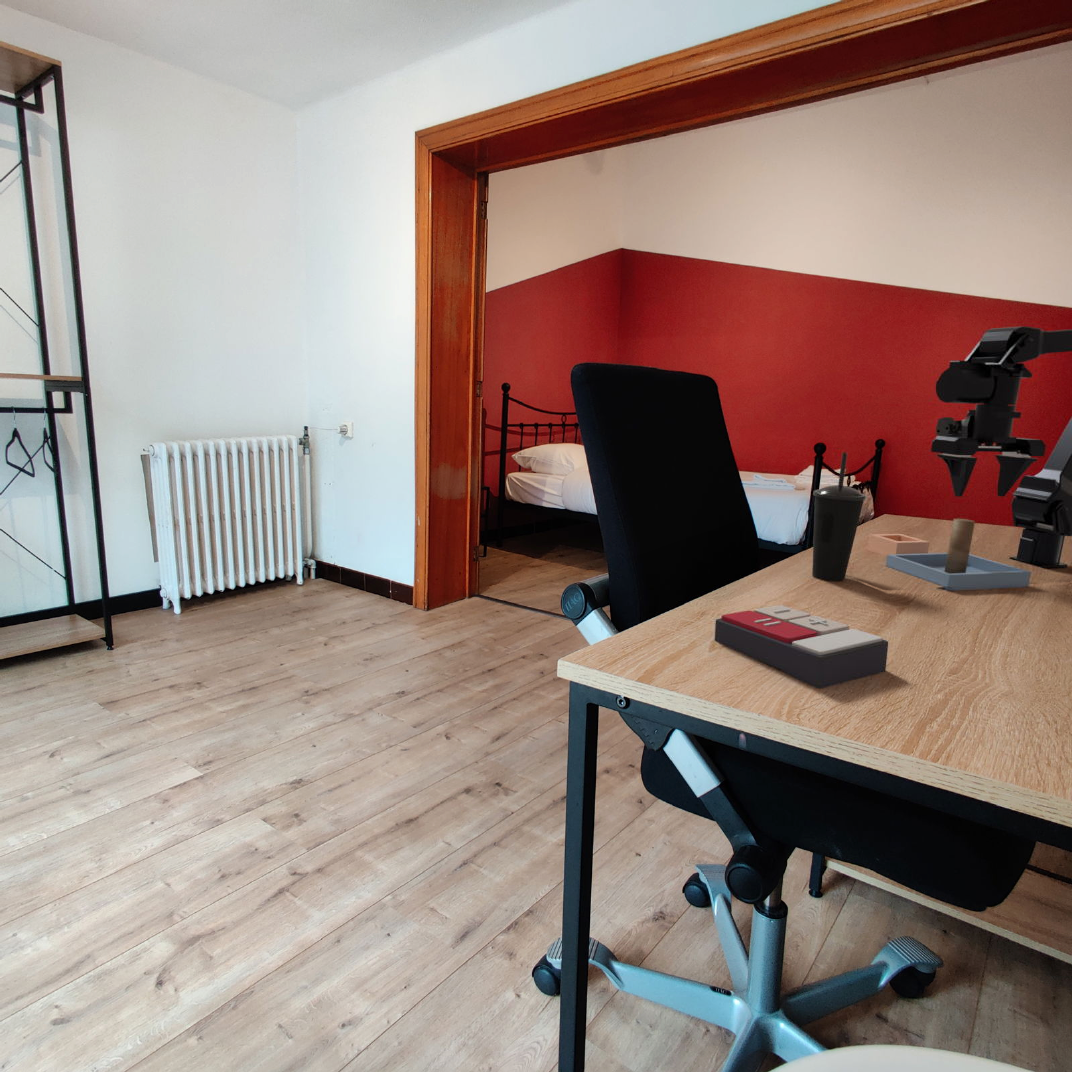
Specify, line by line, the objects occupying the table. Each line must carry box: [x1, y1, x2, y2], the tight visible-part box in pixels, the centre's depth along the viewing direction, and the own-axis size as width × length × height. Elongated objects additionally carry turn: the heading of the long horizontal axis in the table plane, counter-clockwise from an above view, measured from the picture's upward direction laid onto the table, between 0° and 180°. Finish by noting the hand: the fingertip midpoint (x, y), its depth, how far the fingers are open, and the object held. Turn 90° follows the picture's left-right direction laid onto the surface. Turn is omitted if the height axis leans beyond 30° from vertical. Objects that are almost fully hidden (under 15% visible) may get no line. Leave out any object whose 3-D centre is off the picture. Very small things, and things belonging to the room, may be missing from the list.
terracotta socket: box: [866, 533, 930, 558], centre depth 129 cm, size 7×7×4 cm
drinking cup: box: [811, 452, 867, 582], centre depth 111 cm, size 8×8×20 cm
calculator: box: [714, 604, 889, 689], centre depth 79 cm, size 11×4×15 cm
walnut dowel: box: [944, 518, 976, 574], centre depth 115 cm, size 3×3×9 cm
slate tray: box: [885, 552, 1032, 592], centre depth 116 cm, size 16×13×2 cm
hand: (979, 496), depth 121 cm, fingers open, 9 cm apart
